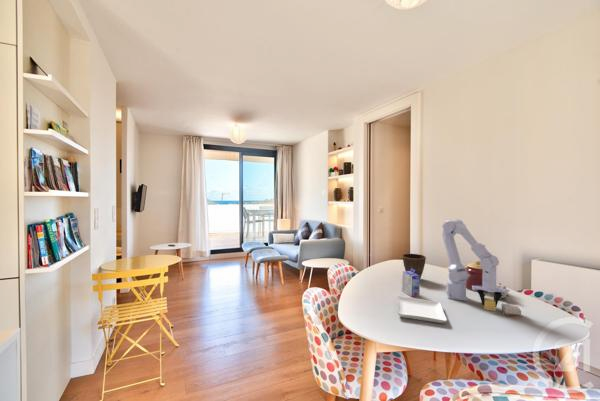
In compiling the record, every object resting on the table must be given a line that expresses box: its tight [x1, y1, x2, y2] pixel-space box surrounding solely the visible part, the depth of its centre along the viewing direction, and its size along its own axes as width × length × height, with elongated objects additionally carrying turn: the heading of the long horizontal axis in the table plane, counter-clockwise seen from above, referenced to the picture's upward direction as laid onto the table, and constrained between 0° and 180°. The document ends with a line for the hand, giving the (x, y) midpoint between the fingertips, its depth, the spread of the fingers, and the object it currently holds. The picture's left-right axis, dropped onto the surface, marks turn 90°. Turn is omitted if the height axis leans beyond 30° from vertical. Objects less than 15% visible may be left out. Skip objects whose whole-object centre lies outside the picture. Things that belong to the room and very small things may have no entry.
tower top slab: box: [501, 303, 522, 316], centre depth 126 cm, size 6×6×2 cm
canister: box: [465, 260, 488, 293], centre depth 160 cm, size 13×13×18 cm
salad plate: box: [396, 296, 448, 324], centre depth 128 cm, size 21×21×3 cm
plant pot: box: [401, 253, 427, 279], centre depth 179 cm, size 15×15×16 cm
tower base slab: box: [501, 308, 522, 319], centre depth 126 cm, size 6×6×2 cm
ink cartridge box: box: [401, 268, 421, 298], centre depth 153 cm, size 10×6×14 cm, turn 12°
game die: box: [489, 282, 510, 301], centre depth 145 cm, size 9×8×10 cm
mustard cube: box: [482, 297, 497, 312], centre depth 133 cm, size 4×4×4 cm
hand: (488, 305), depth 133 cm, fingers closed on mustard cube, 4 cm apart
